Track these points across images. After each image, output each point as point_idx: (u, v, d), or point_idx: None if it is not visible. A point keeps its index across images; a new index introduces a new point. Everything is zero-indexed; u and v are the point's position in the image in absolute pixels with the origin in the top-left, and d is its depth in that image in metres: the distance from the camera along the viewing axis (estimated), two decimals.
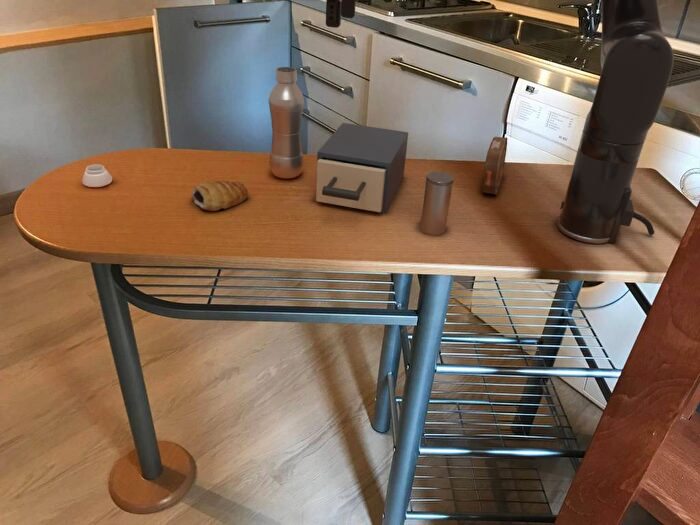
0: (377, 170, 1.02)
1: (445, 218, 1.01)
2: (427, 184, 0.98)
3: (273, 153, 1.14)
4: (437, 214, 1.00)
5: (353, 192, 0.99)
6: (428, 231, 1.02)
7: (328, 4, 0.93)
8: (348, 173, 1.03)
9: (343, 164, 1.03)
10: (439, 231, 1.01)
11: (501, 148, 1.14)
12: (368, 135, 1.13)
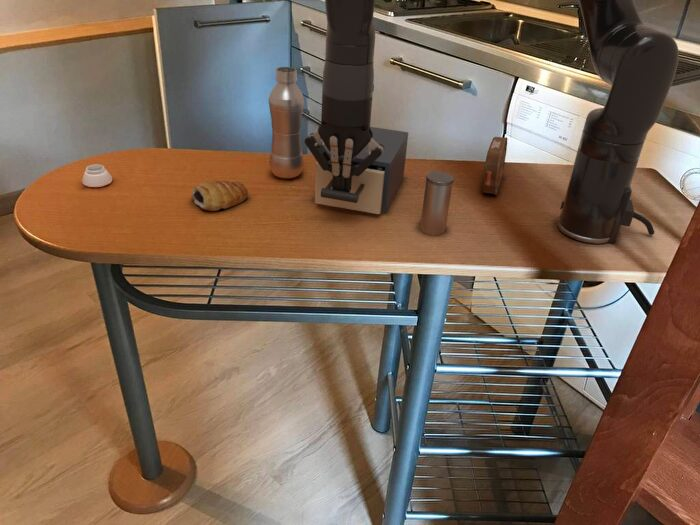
0: (376, 172, 1.01)
1: (445, 218, 1.01)
2: (427, 184, 0.98)
3: (273, 153, 1.14)
4: (437, 214, 1.00)
5: (352, 194, 0.98)
6: (428, 231, 1.02)
7: None
8: None
9: None
10: (439, 231, 1.01)
11: (501, 148, 1.14)
12: None
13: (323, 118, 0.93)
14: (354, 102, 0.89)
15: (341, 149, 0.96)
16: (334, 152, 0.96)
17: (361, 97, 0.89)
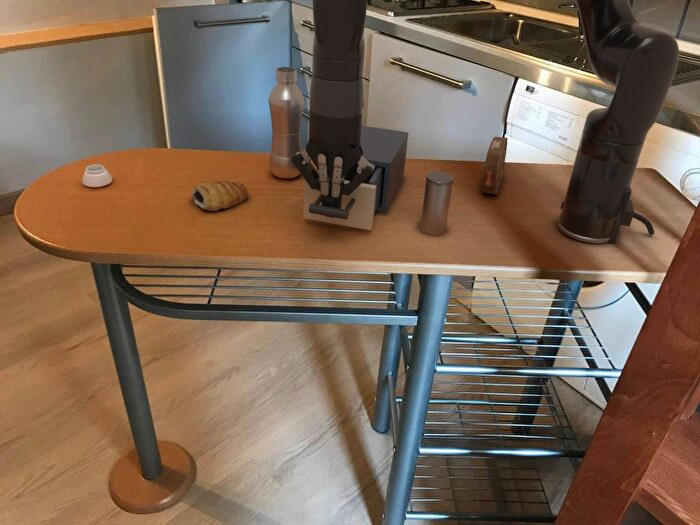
0: (368, 186, 0.96)
1: (445, 218, 1.01)
2: (427, 184, 0.98)
3: (273, 153, 1.14)
4: (437, 214, 1.00)
5: (341, 210, 0.93)
6: (428, 231, 1.02)
7: None
8: None
9: None
10: (439, 231, 1.01)
11: (501, 148, 1.14)
12: (368, 135, 1.13)
13: (311, 136, 0.88)
14: (343, 119, 0.85)
15: (330, 167, 0.91)
16: (323, 171, 0.91)
17: (350, 114, 0.85)
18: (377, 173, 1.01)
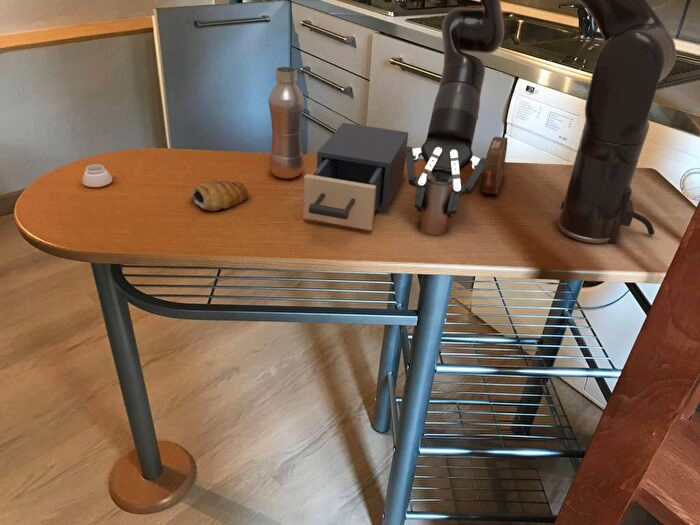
0: (368, 186, 0.96)
1: (445, 218, 1.01)
2: (427, 184, 0.98)
3: (273, 153, 1.14)
4: (437, 214, 1.00)
5: (341, 210, 0.93)
6: (428, 231, 1.02)
7: None
8: (336, 189, 0.98)
9: (331, 180, 0.98)
10: (439, 231, 1.01)
11: (501, 148, 1.14)
12: (368, 135, 1.13)
13: (432, 129, 1.01)
14: (466, 112, 1.00)
15: (443, 163, 1.00)
16: (432, 162, 1.00)
17: (471, 112, 1.00)
18: (377, 173, 1.01)
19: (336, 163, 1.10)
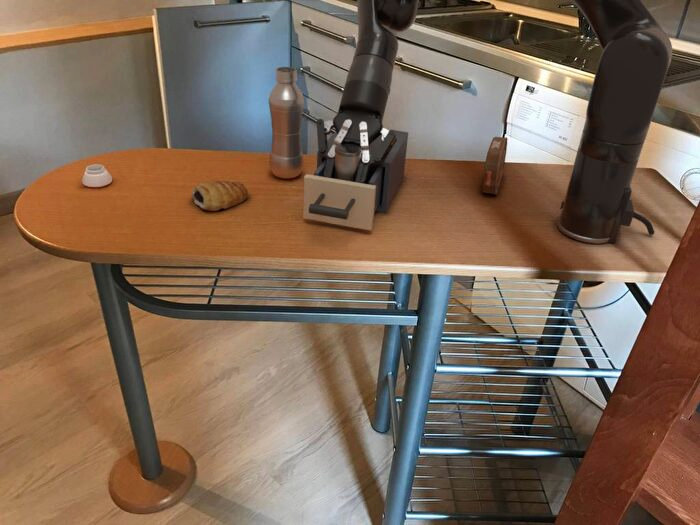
0: (367, 186, 0.96)
1: None
2: (335, 155, 0.99)
3: (273, 153, 1.14)
4: None
5: (341, 210, 0.93)
6: None
7: None
8: (336, 190, 0.98)
9: (331, 180, 0.98)
10: None
11: (501, 148, 1.14)
12: None
13: (342, 101, 1.01)
14: (375, 85, 1.00)
15: (353, 135, 1.01)
16: (341, 134, 1.01)
17: (381, 84, 1.01)
18: (377, 173, 1.01)
19: None
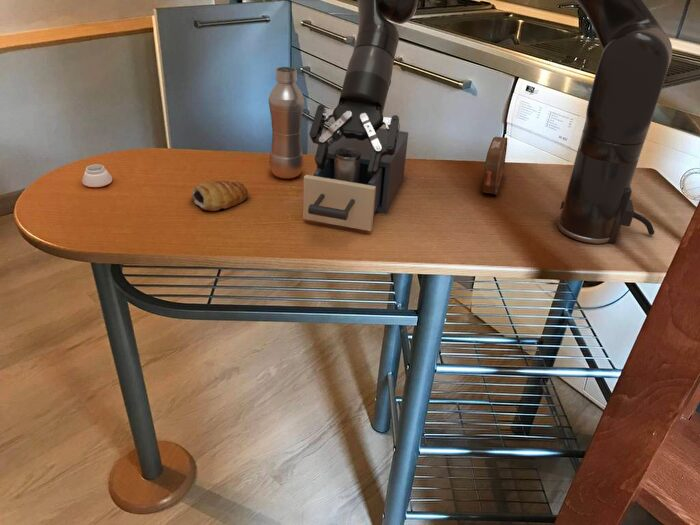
0: (367, 187, 0.96)
1: None
2: (335, 160, 0.99)
3: (273, 153, 1.14)
4: None
5: (341, 211, 0.93)
6: None
7: None
8: (336, 190, 0.98)
9: (331, 180, 0.97)
10: None
11: (501, 148, 1.14)
12: None
13: (343, 93, 1.00)
14: (375, 76, 0.99)
15: (353, 127, 1.00)
16: (338, 123, 1.00)
17: (382, 75, 1.00)
18: (377, 174, 1.01)
19: None
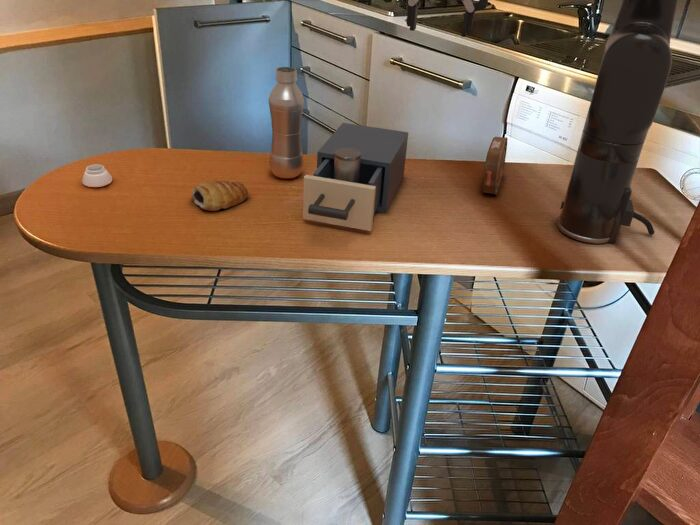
0: (367, 187, 0.96)
1: None
2: (335, 160, 0.99)
3: (273, 153, 1.14)
4: None
5: (341, 211, 0.93)
6: None
7: None
8: (336, 190, 0.98)
9: (331, 180, 0.97)
10: None
11: (501, 148, 1.14)
12: (368, 135, 1.13)
13: None
14: None
15: None
16: None
17: None
18: (377, 174, 1.01)
19: None
